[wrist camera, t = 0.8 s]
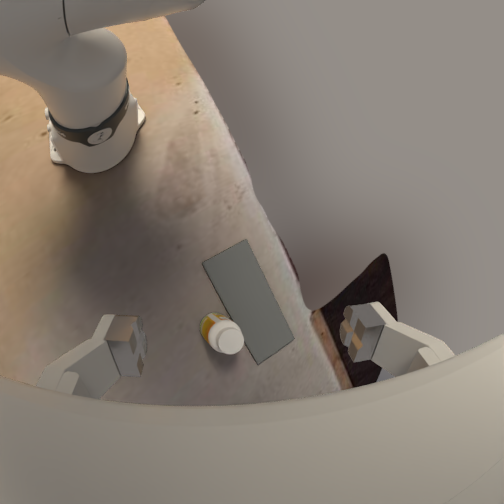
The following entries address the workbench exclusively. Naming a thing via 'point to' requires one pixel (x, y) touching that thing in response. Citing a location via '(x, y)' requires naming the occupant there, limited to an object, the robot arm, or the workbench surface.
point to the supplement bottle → (221, 333)
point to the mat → (249, 300)
